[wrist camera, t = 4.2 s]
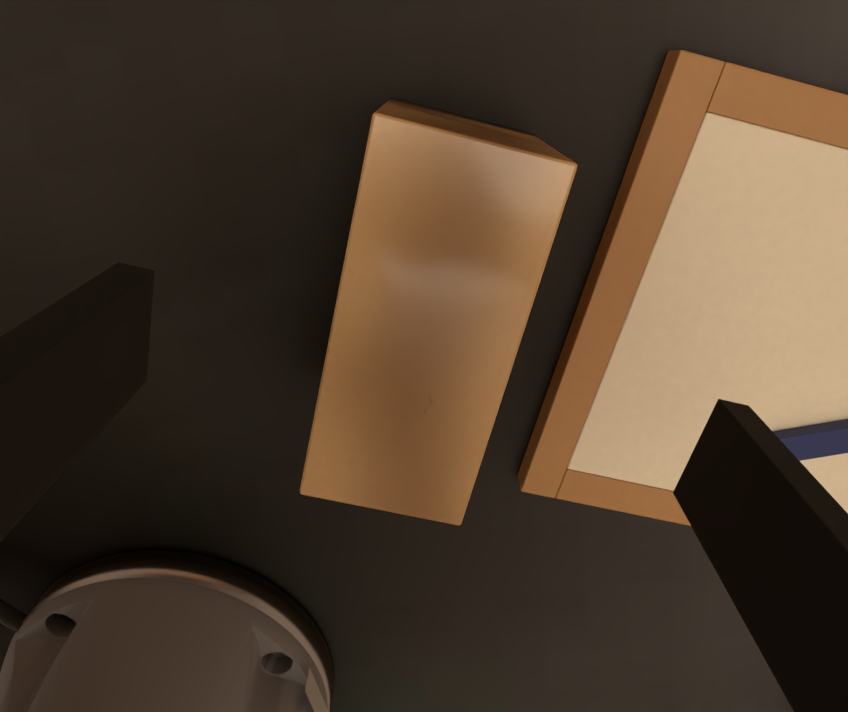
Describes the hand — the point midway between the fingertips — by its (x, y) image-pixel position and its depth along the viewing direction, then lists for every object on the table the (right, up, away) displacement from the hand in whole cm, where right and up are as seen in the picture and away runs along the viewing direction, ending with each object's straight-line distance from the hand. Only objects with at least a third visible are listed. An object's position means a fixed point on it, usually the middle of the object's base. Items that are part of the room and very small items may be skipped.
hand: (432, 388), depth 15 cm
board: (+15, +1, +10) cm, 19 cm away
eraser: (0, +4, +9) cm, 10 cm away
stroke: (+16, -2, +11) cm, 19 cm away
